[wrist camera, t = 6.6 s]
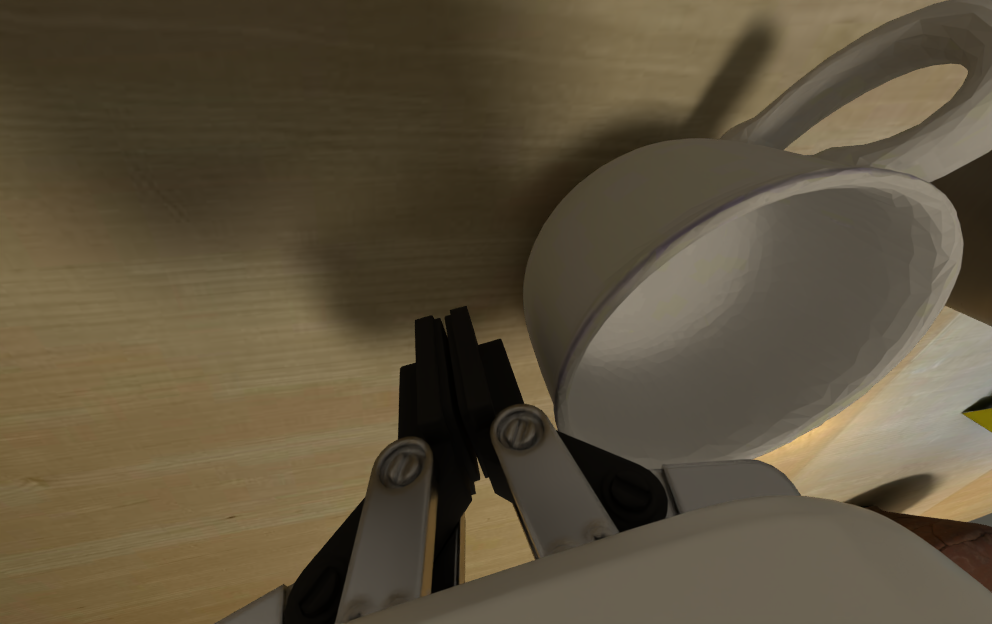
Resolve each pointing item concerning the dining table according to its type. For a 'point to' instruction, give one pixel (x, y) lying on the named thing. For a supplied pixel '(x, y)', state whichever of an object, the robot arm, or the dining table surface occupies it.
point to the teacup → (758, 261)
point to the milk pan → (972, 236)
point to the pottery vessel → (953, 541)
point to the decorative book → (981, 418)
